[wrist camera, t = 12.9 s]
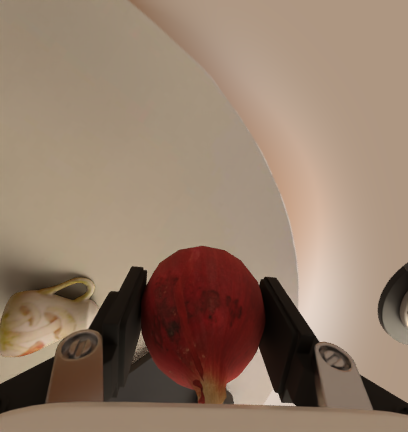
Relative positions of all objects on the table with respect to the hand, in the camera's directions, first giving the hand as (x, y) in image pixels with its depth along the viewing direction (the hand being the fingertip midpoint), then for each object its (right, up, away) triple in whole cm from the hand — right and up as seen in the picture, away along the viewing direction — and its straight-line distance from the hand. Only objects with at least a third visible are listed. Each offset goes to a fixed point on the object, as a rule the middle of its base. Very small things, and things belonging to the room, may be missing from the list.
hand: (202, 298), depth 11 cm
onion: (0, +1, +3) cm, 3 cm away
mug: (-19, -7, +19) cm, 28 cm away
